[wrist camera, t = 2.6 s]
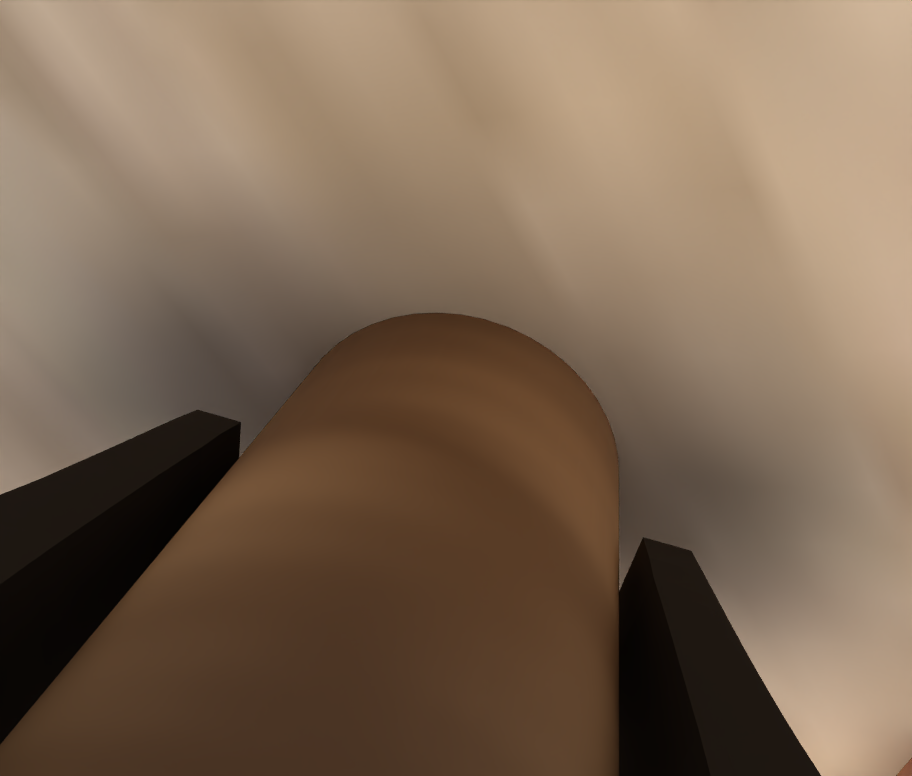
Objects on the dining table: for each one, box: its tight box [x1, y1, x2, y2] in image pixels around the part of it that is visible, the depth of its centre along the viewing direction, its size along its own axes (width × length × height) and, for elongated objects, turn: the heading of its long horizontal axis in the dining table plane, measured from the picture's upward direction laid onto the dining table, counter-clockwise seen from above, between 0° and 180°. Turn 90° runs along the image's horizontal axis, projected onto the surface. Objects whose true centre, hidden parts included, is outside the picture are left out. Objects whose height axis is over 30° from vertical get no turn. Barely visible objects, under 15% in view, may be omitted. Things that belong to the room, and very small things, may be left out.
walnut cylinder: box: [0, 313, 619, 776], centre depth 8 cm, size 5×5×7 cm
